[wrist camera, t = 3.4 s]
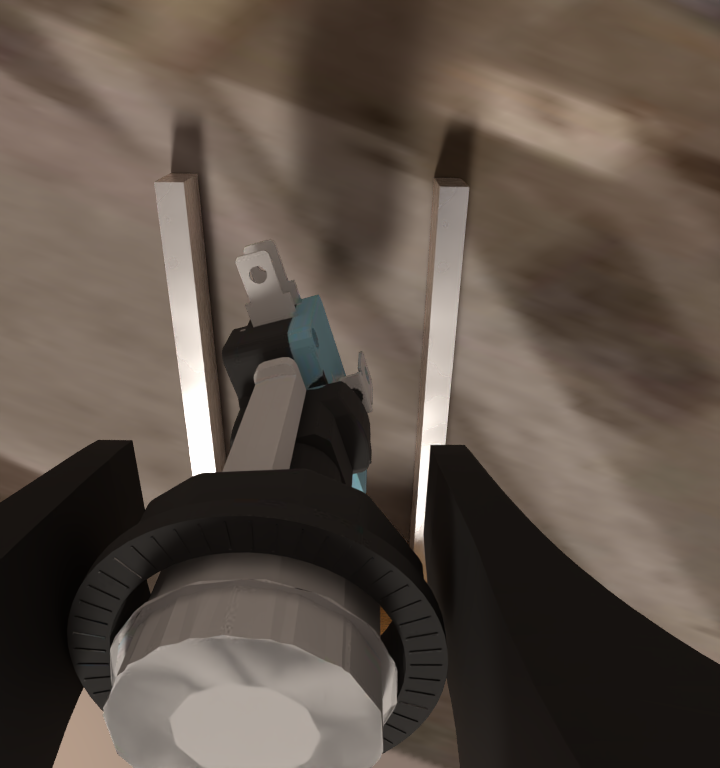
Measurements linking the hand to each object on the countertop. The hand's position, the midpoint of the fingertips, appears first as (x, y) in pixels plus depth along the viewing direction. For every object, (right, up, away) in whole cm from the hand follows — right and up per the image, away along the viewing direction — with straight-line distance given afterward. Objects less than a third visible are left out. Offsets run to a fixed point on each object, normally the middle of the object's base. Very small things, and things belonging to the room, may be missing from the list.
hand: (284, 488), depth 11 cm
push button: (0, +3, +5) cm, 6 cm away
